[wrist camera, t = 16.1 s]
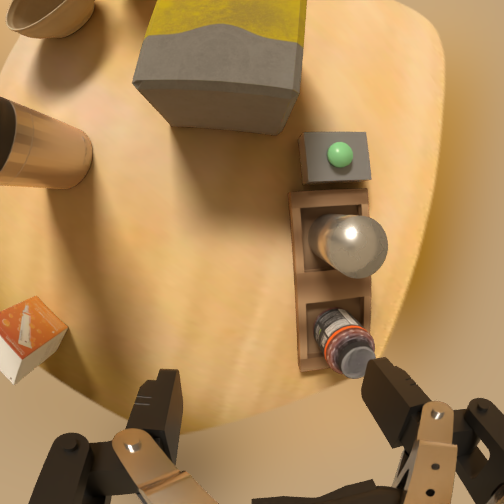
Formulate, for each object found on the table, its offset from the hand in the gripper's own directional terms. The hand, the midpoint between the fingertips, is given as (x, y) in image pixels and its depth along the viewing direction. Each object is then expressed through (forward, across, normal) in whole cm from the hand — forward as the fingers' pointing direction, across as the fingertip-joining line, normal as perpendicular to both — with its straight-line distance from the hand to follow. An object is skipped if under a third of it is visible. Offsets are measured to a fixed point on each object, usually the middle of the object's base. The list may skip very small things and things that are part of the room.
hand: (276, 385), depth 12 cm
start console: (+29, -12, -11) cm, 33 cm away
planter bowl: (+34, +30, -40) cm, 61 cm away
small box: (+30, +32, +13) cm, 46 cm away
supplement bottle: (+26, -13, +11) cm, 31 cm away
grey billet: (+27, -11, -1) cm, 29 cm away
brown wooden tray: (+27, -12, +5) cm, 30 cm away
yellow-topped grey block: (+31, +1, -27) cm, 41 cm away
